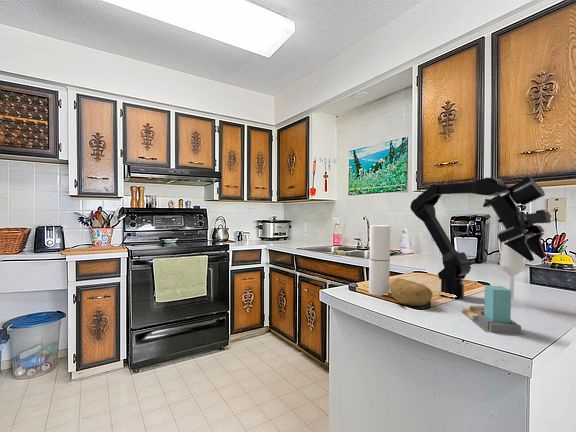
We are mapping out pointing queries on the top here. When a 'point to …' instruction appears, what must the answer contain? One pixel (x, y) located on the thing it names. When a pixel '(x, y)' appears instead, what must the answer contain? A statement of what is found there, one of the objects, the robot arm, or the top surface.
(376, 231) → the cylindrical container
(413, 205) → the robot arm
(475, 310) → the offcut stack
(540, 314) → the top surface
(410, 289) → the potato
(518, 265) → the champagne flute
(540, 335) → the top surface
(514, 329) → the slotted grey block
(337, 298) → the top surface
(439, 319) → the top surface
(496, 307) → the teal slat
